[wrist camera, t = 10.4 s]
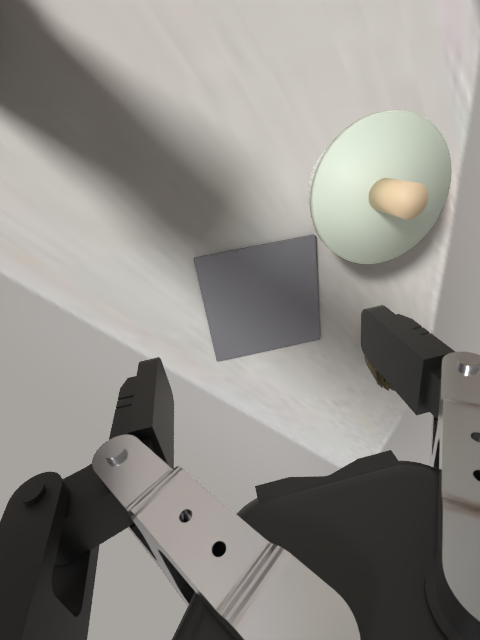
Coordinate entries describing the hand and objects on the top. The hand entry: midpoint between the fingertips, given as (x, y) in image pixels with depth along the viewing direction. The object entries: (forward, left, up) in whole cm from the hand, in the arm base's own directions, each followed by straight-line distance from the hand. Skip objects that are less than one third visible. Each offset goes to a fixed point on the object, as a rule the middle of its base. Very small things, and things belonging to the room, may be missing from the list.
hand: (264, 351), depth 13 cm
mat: (+13, +5, -32) cm, 35 cm away
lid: (0, +18, -25) cm, 31 cm away
